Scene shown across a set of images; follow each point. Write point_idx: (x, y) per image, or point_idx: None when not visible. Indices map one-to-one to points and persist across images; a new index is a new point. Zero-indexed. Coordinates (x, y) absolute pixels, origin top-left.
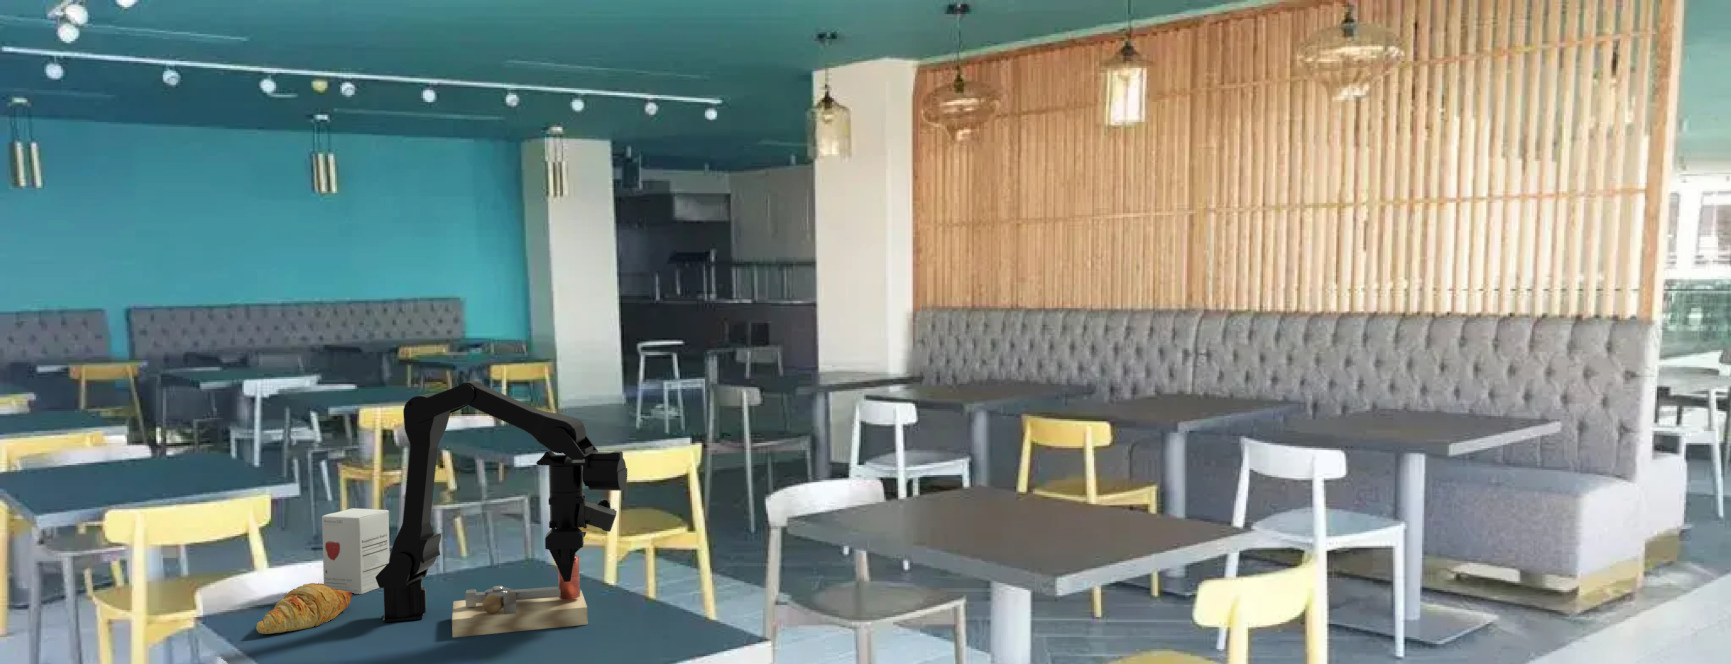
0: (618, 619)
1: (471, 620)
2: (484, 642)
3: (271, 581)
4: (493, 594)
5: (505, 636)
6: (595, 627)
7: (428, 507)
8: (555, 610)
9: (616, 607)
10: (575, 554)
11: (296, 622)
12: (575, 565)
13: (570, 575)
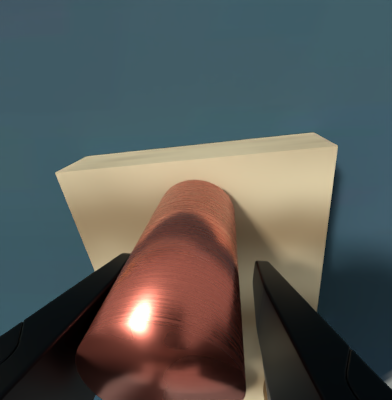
0: (291, 10)
1: None
2: (362, 342)
3: None
4: None
5: (335, 312)
6: (368, 103)
7: None
8: (323, 248)
9: (108, 30)
10: (22, 323)
11: None
12: (224, 294)
13: (284, 282)
